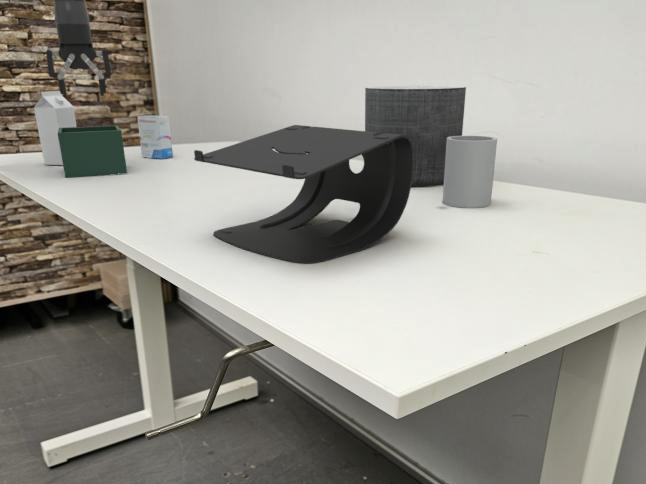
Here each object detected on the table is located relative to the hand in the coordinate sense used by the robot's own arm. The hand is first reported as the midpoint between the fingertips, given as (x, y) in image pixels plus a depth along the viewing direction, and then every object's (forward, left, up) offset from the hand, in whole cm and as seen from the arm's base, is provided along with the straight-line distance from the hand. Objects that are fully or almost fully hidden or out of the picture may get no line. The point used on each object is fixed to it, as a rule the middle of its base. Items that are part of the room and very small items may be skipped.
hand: (83, 96), depth 149 cm
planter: (+69, -43, -19) cm, 83 cm away
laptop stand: (+29, -82, -19) cm, 89 cm away
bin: (0, 0, -18) cm, 18 cm away
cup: (+66, -71, -19) cm, 98 cm away
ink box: (+18, +20, -19) cm, 33 cm away
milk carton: (-8, +18, -19) cm, 27 cm away
